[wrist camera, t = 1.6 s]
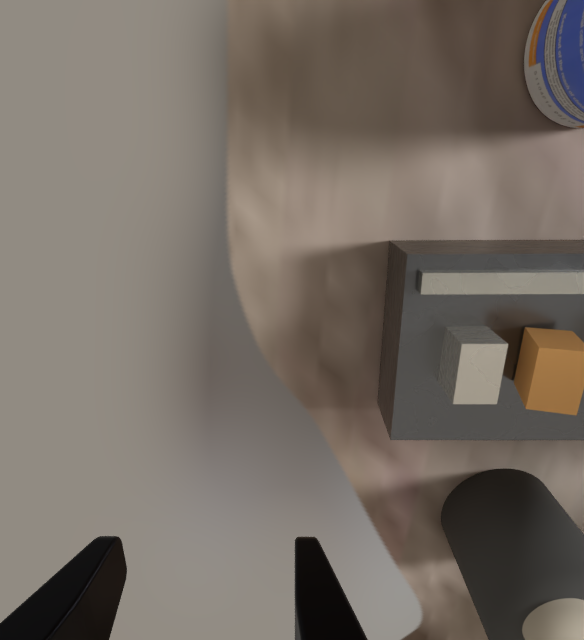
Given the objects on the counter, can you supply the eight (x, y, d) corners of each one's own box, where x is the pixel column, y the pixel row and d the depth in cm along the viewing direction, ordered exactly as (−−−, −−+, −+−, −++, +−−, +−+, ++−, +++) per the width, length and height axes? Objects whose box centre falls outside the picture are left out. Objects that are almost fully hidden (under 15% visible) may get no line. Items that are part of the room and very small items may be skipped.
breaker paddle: (572, 331, 15) (593, 352, 14) (558, 387, 16) (576, 415, 14) (525, 327, 16) (539, 347, 14) (513, 382, 17) (525, 409, 15)
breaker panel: (718, 239, 18) (859, 262, 13) (662, 402, 20) (763, 467, 16) (389, 240, 18) (420, 264, 13) (377, 402, 21) (400, 466, 16)
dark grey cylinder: (572, 513, 23) (671, 635, 17) (484, 569, 24) (545, 700, 18) (509, 449, 21) (592, 558, 15) (419, 512, 23) (463, 634, 17)
